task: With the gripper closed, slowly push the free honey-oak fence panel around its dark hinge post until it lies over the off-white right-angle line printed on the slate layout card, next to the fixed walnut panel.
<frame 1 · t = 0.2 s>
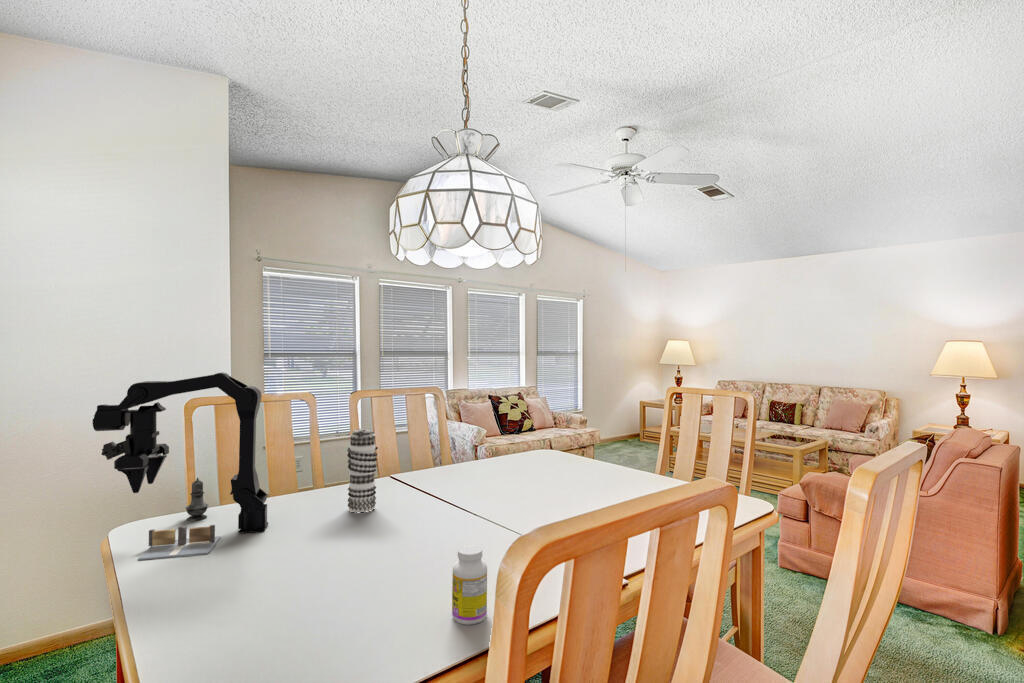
hand: (143, 488, 137), 13 cm above the table, fingers open, 9 cm apart
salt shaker: (196, 518, 153), on the table
decorative candle: (361, 509, 163), on the table
layout card: (181, 548, 130), on the table
fence panel: (161, 537, 131), point 3 cm above the table, hinge at 0.0°
fixed fence: (182, 546, 132), resting on layout card
supplement bottle: (469, 618, 99), on the table
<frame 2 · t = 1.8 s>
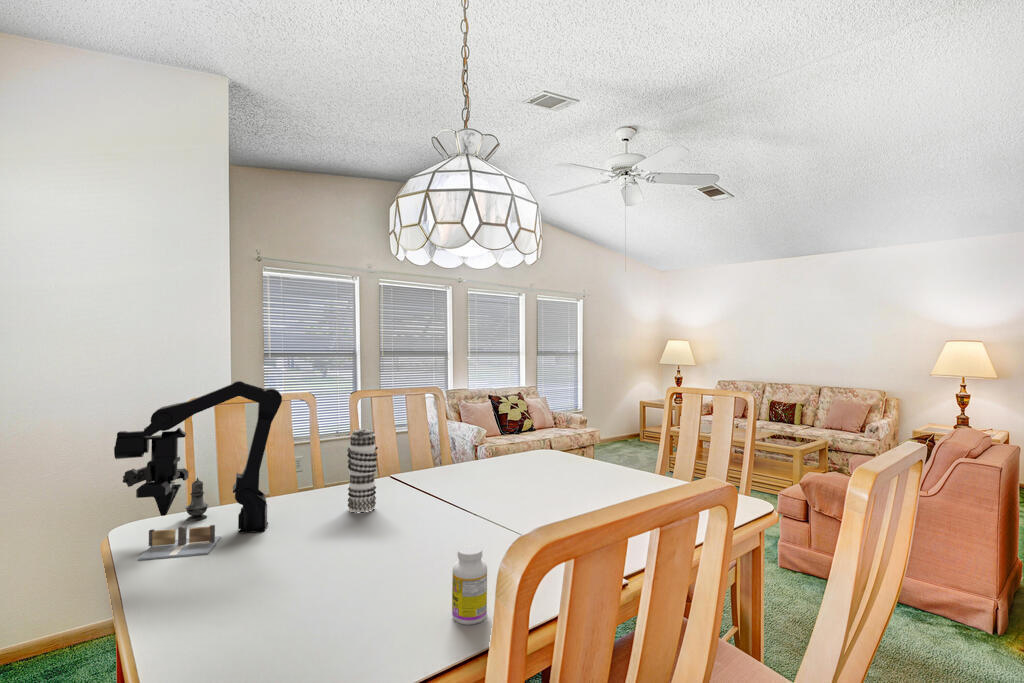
hand: (163, 515, 135), 7 cm above the table, fingers closed
nothing on the table moved.
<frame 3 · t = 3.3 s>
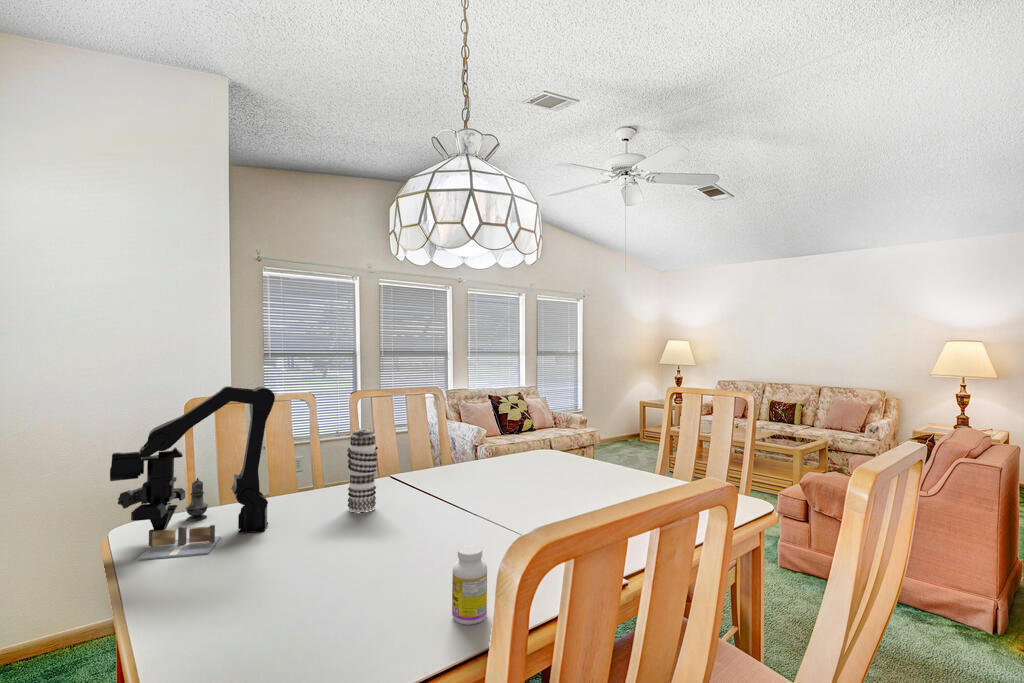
hand: (159, 537, 132), 2 cm above the table, fingers closed
fence panel: (161, 537, 131), point 3 cm above the table, hinge at 0.0°, touching gripper
everything else where it was.
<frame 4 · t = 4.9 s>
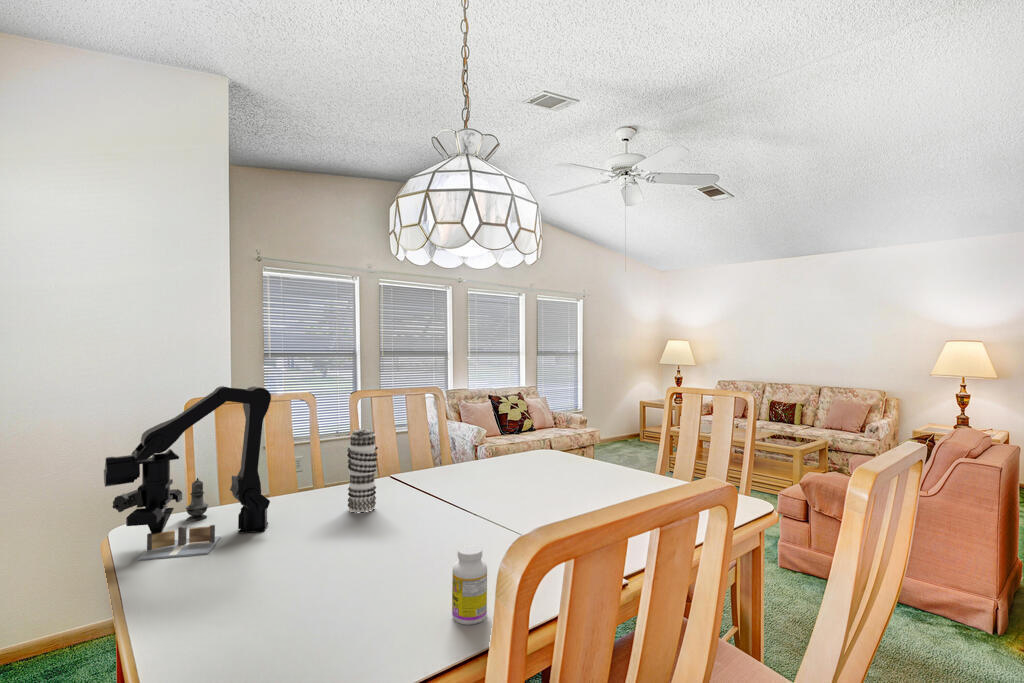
hand: (156, 540, 130), 2 cm above the table, fingers closed
fence panel: (160, 539, 129), point 3 cm above the table, hinge at 24.1°, touching gripper
everything else where it was.
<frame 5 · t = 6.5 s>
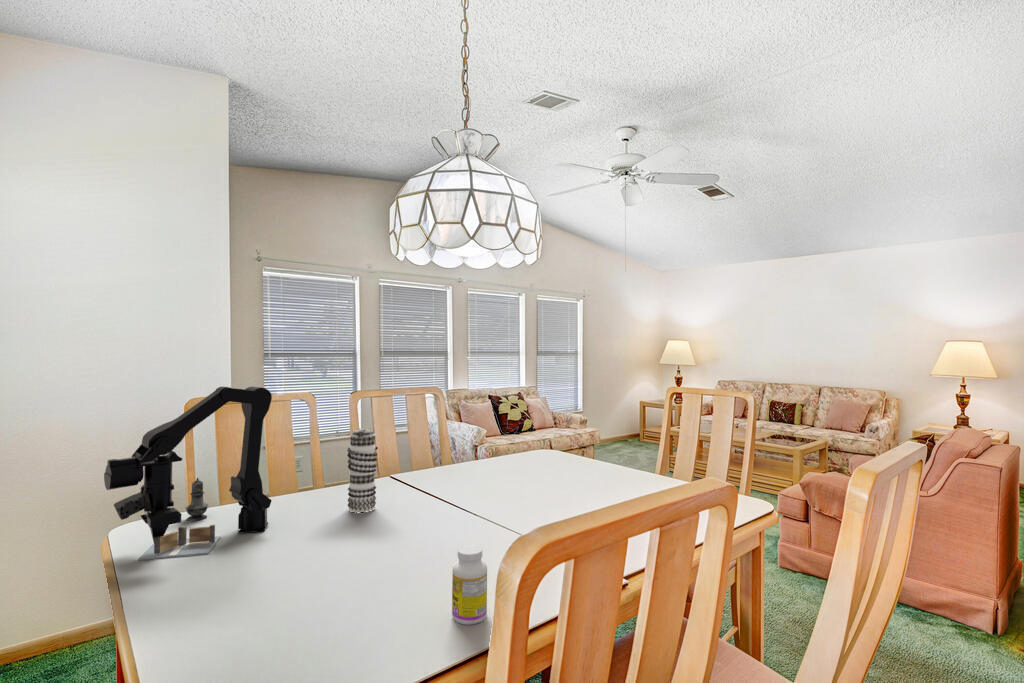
hand: (156, 544, 127), 2 cm above the table, fingers closed
fence panel: (165, 541, 128), point 3 cm above the table, hinge at 57.3°, touching gripper
everything else where it was.
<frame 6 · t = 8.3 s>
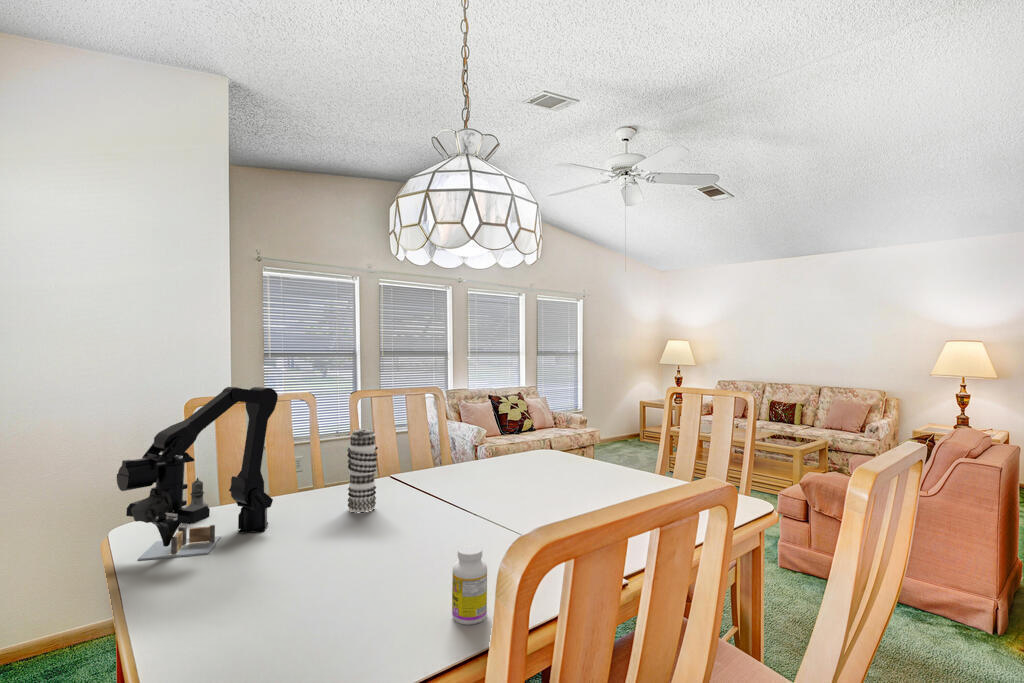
hand: (166, 546, 126), 2 cm above the table, fingers closed
fence panel: (176, 541, 128), point 3 cm above the table, hinge at 92.3°, touching gripper
everything else where it was.
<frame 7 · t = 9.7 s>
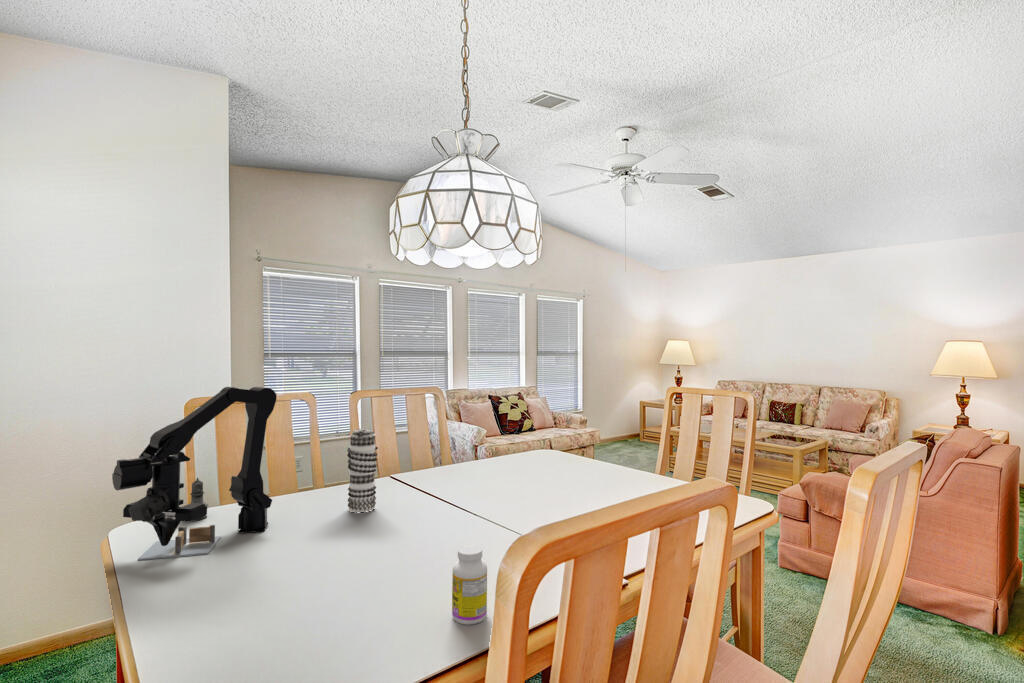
hand: (164, 545, 127), 2 cm above the table, fingers closed
fence panel: (179, 541, 128), point 3 cm above the table, hinge at 99.3°
everything else where it was.
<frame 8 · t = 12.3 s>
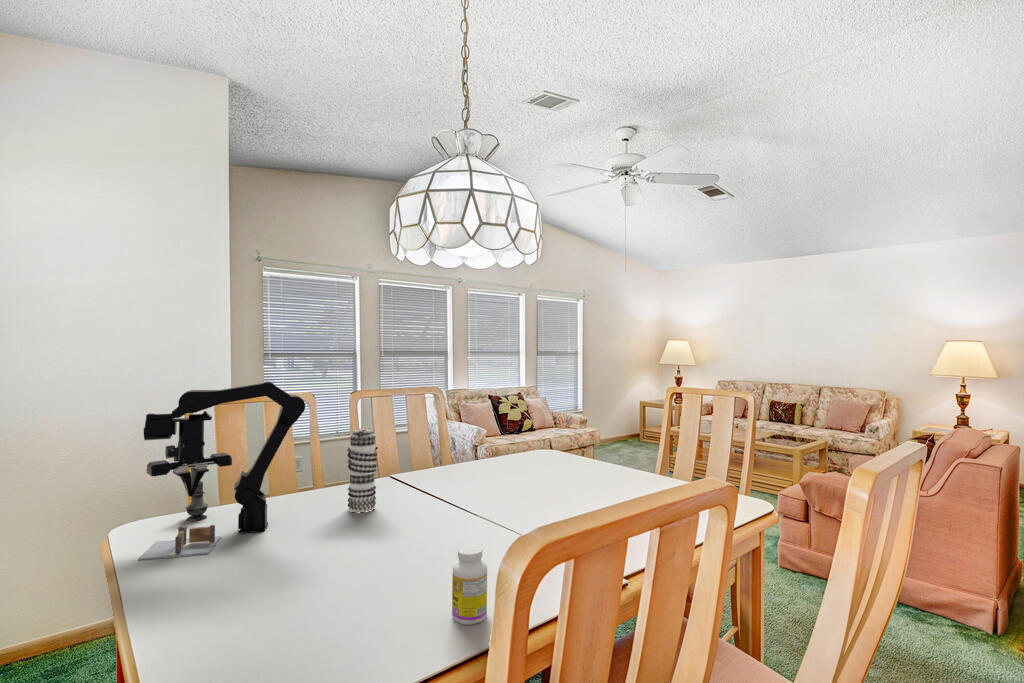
hand: (190, 496, 138), 11 cm above the table, fingers closed
nothing on the table moved.
at the end: fence panel at +100° (first picture: +0°) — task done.
